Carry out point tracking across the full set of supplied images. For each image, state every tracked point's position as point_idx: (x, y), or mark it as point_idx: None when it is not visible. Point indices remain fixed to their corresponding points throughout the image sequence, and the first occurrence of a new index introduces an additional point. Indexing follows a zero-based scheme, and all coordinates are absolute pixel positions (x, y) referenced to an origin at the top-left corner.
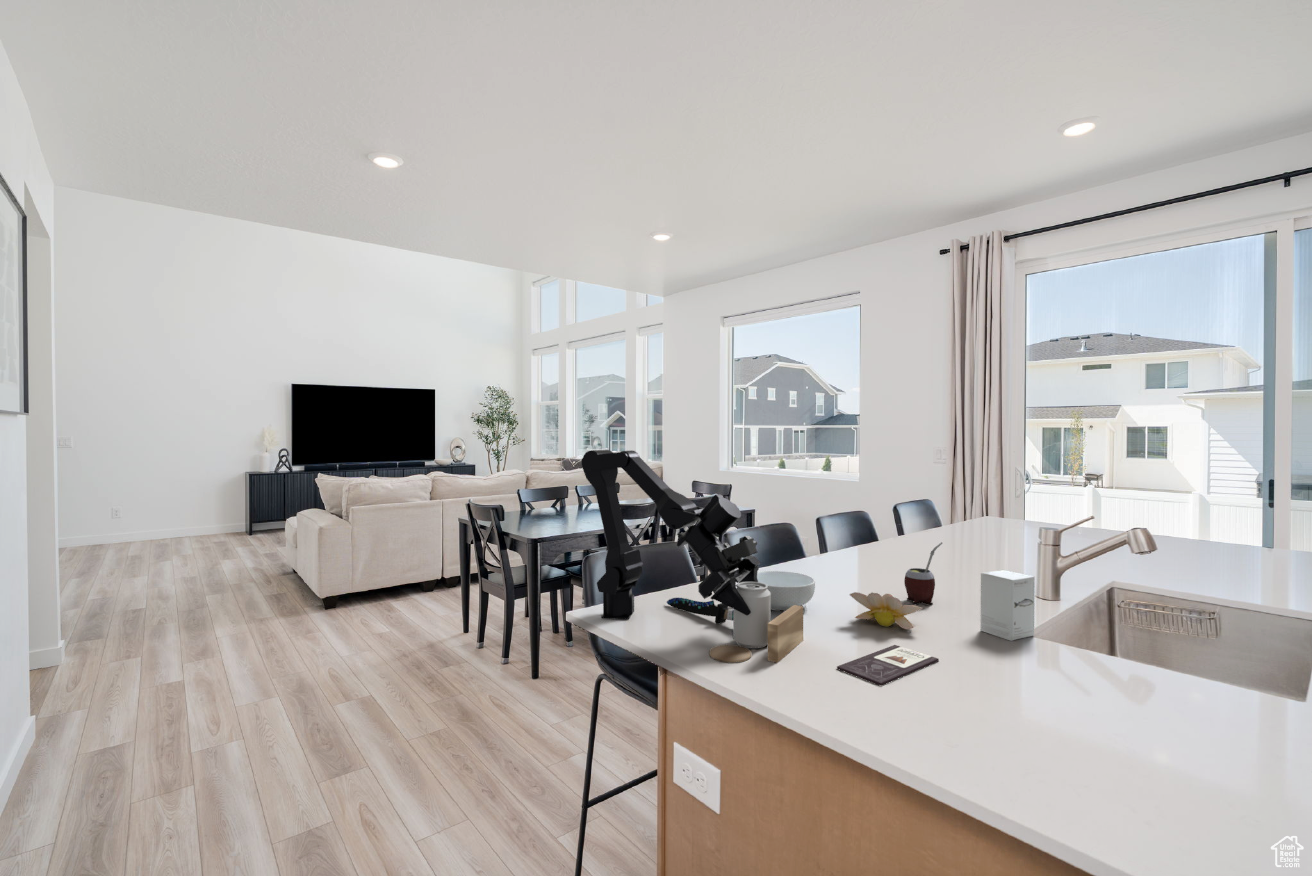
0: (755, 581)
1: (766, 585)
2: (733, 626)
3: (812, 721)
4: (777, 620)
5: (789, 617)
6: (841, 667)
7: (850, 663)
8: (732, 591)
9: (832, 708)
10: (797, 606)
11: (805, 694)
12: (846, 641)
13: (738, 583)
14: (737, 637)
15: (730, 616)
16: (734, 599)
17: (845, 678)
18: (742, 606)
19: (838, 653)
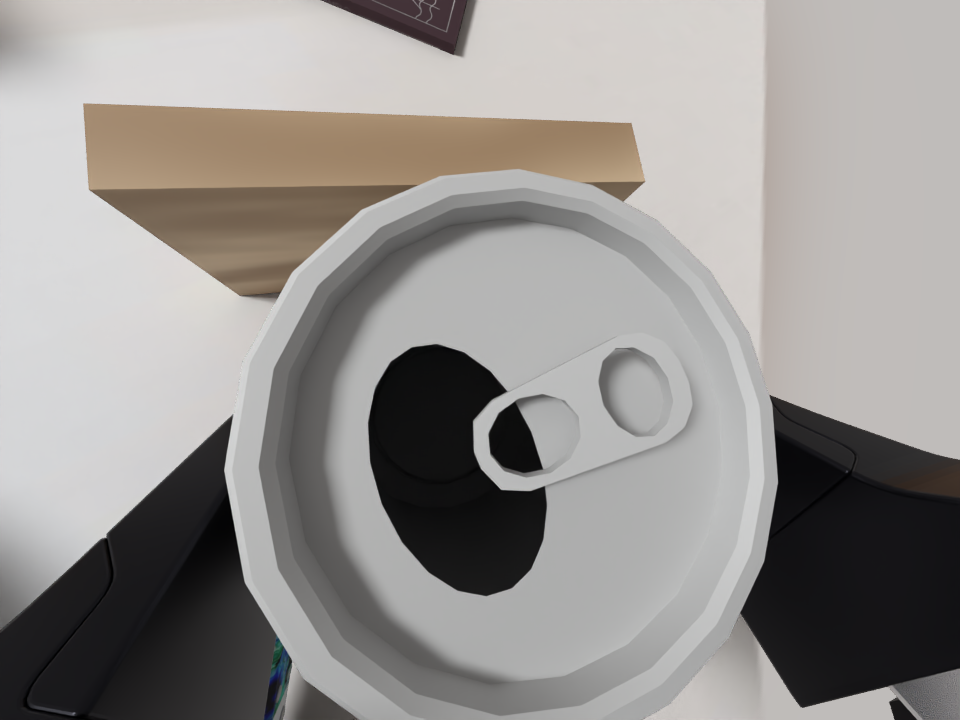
0: (78, 676)
1: (384, 216)
2: (522, 492)
3: (750, 46)
4: (562, 154)
5: (441, 122)
6: (454, 31)
7: (398, 10)
8: (916, 460)
9: (679, 21)
10: (123, 146)
11: (664, 90)
12: (102, 78)
13: (629, 717)
14: (531, 438)
15: (280, 713)
16: None
17: (505, 20)
18: None
19: (299, 78)
